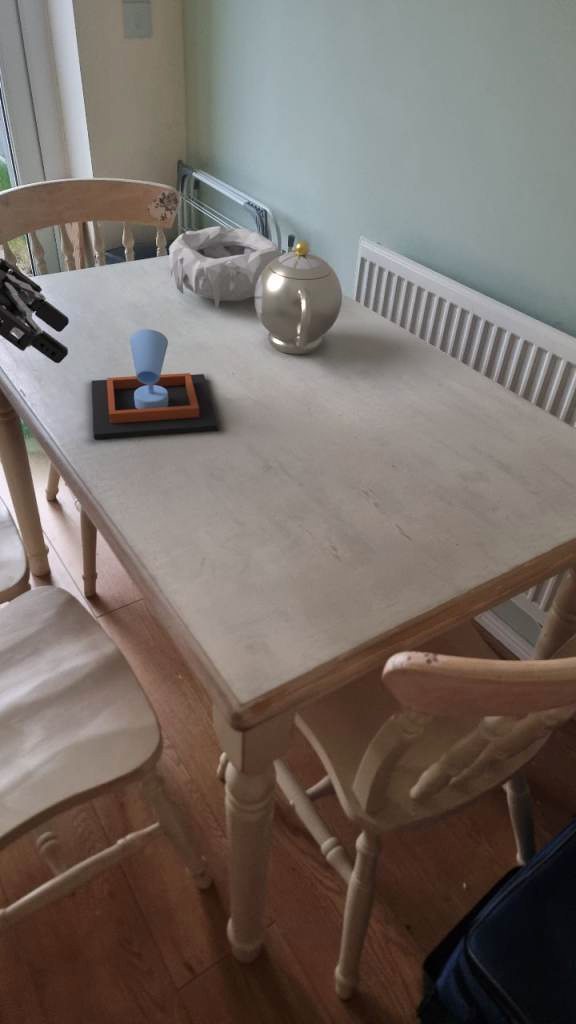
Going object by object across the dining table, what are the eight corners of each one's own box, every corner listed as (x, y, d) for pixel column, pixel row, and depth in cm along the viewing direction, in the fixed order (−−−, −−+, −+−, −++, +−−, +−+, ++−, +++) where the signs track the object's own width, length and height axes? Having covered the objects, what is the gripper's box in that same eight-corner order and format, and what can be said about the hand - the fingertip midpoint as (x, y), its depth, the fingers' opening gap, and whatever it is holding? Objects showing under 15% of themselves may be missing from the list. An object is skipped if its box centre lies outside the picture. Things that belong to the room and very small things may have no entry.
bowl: (155, 279, 130) (151, 224, 124) (256, 269, 137) (258, 216, 131) (187, 326, 116) (185, 266, 109) (299, 312, 123) (303, 255, 116)
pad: (94, 439, 89) (91, 424, 87) (92, 385, 99) (90, 370, 98) (218, 430, 92) (218, 415, 91) (203, 378, 102) (203, 364, 101)
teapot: (250, 323, 118) (253, 224, 107) (329, 324, 119) (339, 226, 109) (257, 375, 104) (261, 267, 94) (346, 375, 106) (359, 269, 95)
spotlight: (135, 389, 97) (131, 415, 92) (129, 322, 91) (124, 346, 86) (170, 389, 98) (169, 415, 93) (167, 322, 92) (165, 346, 86)
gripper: (-67, 252, 83) (47, 336, 93) (-89, 300, 73) (43, 389, 83) (-31, 205, 81) (83, 297, 91) (-47, 248, 71) (83, 346, 80)
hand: (64, 341), depth 87 cm, fingers open, 8 cm apart
